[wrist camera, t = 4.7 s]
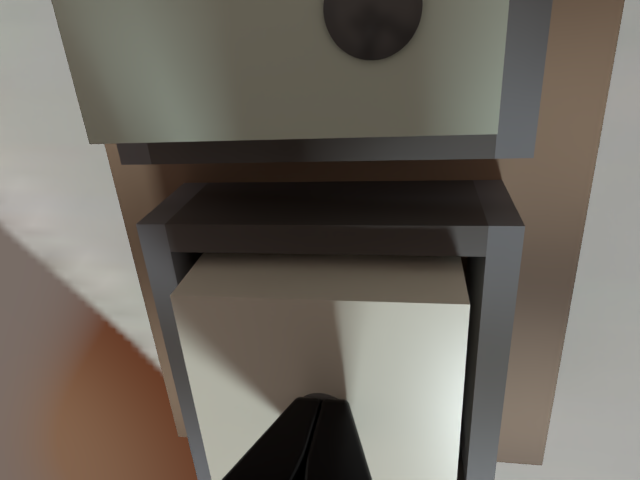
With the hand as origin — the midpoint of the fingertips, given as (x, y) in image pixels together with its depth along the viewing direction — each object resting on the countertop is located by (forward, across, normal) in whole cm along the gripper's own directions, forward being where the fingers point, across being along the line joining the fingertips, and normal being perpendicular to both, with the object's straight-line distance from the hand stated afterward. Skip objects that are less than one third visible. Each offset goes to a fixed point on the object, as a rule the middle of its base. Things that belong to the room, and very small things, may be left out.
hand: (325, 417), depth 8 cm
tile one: (+2, 0, 0) cm, 2 cm away
